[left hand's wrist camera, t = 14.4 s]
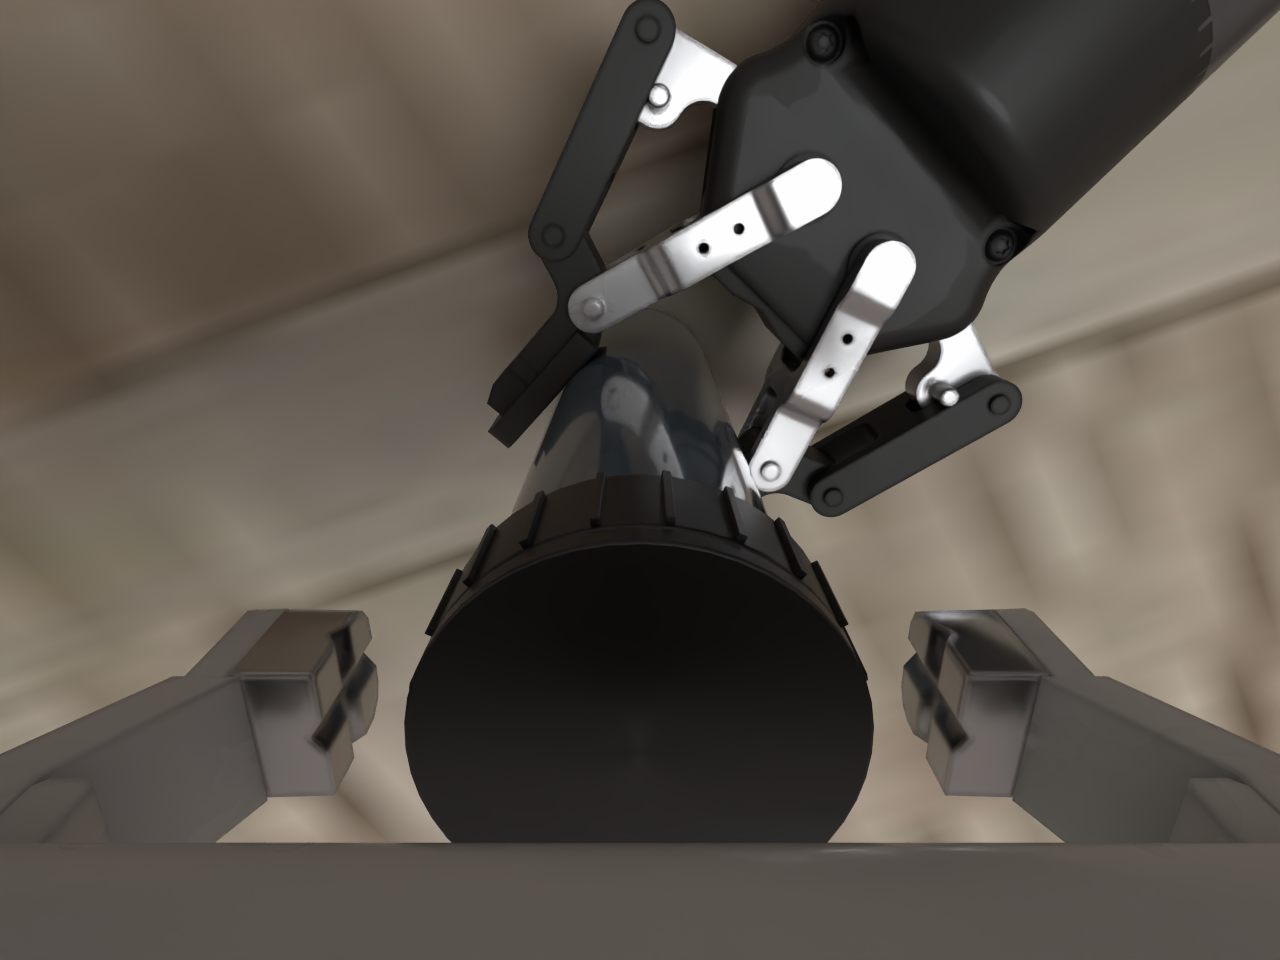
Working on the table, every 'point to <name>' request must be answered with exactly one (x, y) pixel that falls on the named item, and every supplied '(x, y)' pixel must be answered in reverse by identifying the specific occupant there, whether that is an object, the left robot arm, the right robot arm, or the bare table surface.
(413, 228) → the table surface
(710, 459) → the dark gray cylinder
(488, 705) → the lid
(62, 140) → the table surface
